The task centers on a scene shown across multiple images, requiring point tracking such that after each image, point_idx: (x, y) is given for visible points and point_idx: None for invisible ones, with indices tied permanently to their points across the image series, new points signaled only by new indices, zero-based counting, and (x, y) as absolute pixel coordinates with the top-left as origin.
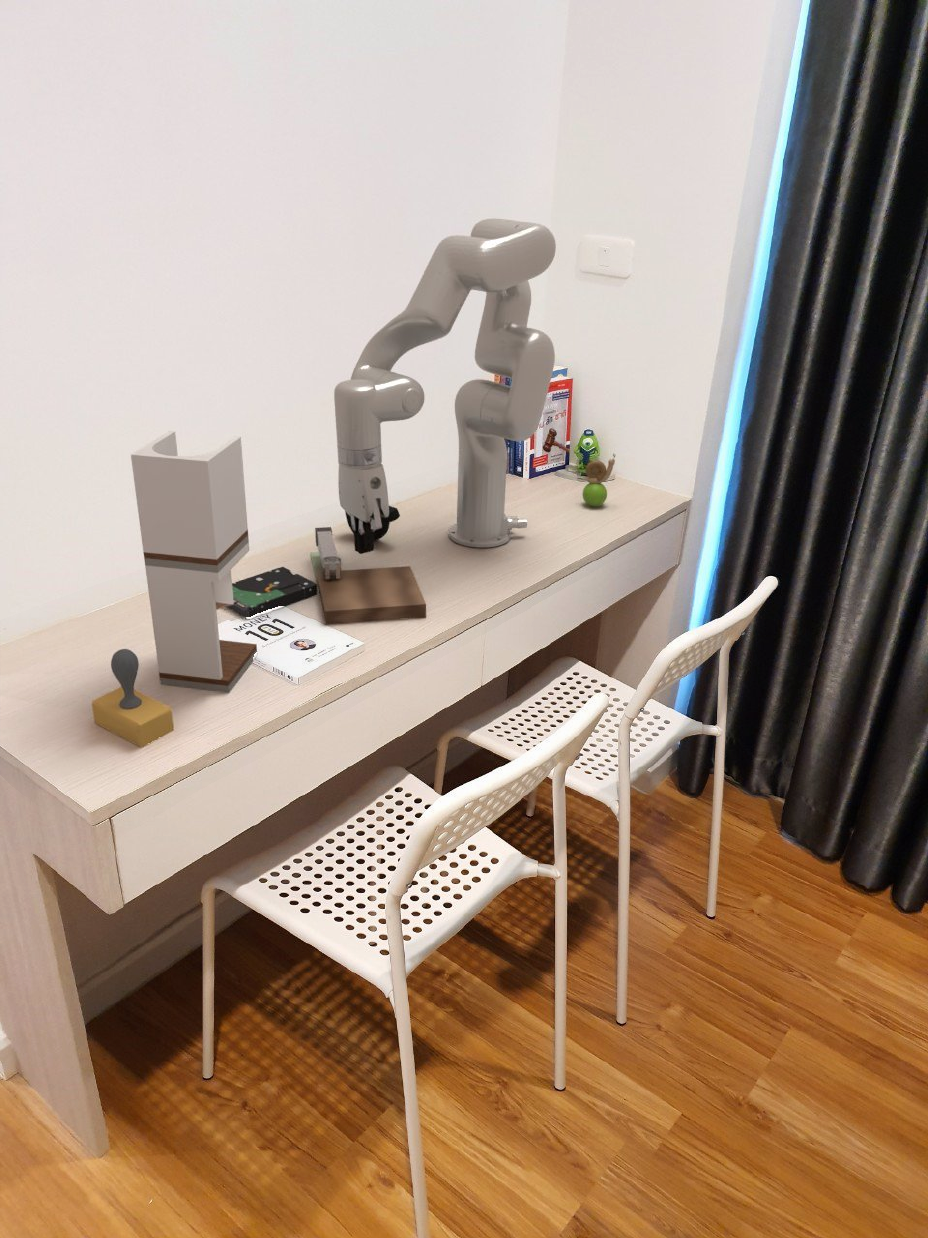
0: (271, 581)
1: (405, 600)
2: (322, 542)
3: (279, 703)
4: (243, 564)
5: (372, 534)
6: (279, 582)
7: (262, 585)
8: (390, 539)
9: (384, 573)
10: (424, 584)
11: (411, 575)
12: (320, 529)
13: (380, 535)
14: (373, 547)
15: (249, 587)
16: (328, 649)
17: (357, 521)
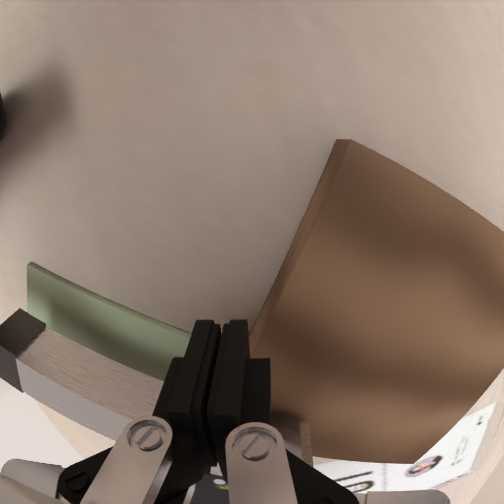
0: (208, 483)
1: None
2: (110, 433)
3: (479, 479)
4: (69, 431)
5: (239, 395)
6: (220, 479)
7: (220, 494)
8: (9, 65)
9: (353, 283)
10: (407, 125)
11: (433, 196)
12: (6, 373)
13: (1, 110)
14: (245, 330)
15: (217, 502)
16: (461, 444)
17: (158, 496)
